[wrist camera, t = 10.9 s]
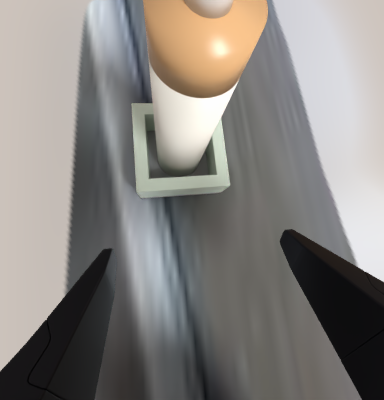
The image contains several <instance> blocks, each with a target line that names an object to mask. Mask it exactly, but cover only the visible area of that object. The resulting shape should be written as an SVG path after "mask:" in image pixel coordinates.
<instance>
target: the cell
mask: <svg viewBox="0 0 384 400" xmlns="http://www.w3.org/2000/svg"><path fill="white" fill-rule="evenodd" d="M143 3H144V14H145V25H146V36H147V47H148V58H149V69H150V80H151V90H152V101H153V112H154V123H155V134H156V145H157V156H158V162H159V165H160V167H161V168H162V170H163V171H164V172H165V173H167V174H168V175H170V176H173V177H185V176H188V175H190V174H191V173H193V172H194V171H195V169H196V168H197V166H198V164H199V162H200V160H201V158H202V155H203V153H204V151H205V149H206V147H207V145H208V143H209V141H210V139H211V137H212V135H213V133H214V131H215V128H216V126H217V124H218V122H219V120H220V118H221V116H222V114H223V112H224V110H225V108H226V106H227V104H228V102H229V99H230V97H231V95H232V93H233V91H234V89H235V87H236V85H237V83H238V81H239V79H240V77H241V75H242V72H243V70H244V68H245V66H246V64H247V62H248V60H249V58H250V56H251V54H252V52H253V50H254V48H255V46H256V43H257V41H258V39H259V37H260V35H261V33H262V31H263V29H264V27H265V24H266V21H267V16H268V7H267V1H266V0H143Z"/></svg>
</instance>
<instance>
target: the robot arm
mask: <svg viewBox="0 0 384 400" xmlns="http://www.w3.org/2000/svg"><path fill="white" fill-rule="evenodd" d="M280 244H281V247H282V249H283V252H284V254H285V256H286V259H287V261H288V263H289V266H290V268H291V270H292V272H293V274H294V276H295V278H296V279H297V281H298V283H299V285H300V287H301V289H302V290H303V292H304V294H305V296H306V298H307V299H308V301H309V303H310V305H311V307H312V309H313V310H314V312H315V314H316V316H317V318H318V320H319V321H320V323H321V325H322V327H323V329H324V331H325V332H326V334H327V336H328V338H329V340H330V341H331V343H332V345H333V347H334V349H335V351H336V352H337V354H338V356H339V358H340V359H341V362H342V364H343V365H344V367H345V369H346V371H347V373H348V375H349V376H350V378H351V380H352V382H353V384H354V386H355V387H356V389H357V391H358V393H359V395H360V396H361V398H362V400H384V282H382V281H381V280H379V279H377V278H375V277H373V276H372V275H370V274H369V273H367V272H364V271H363V270H361V269H360V268H358V267H356V266H355V265H353V264H351V263H350V262H348V261H346V260H344V259H343V258H341V257H339V256H338V255H336V254H334V253H332V252H331V251H329V250H327V249H326V248H324V247H322V246H320V245H319V244H317V243H315V242H314V241H312V240H310V239H308V238H307V237H305V236H303V235H302V234H300V233H298V232H296V231H295V230H293V229H288V230H284V232H283V234H282V237H281V239H280ZM116 267H117V260H116V256H115V253H114V250H113V249H112V248H109V249H104V250H102V252H101V253H100V254H99V255H98V257H97V258H96V259H95V260H94V261H93V263H92V264H91V265H90V266H89V268H88V269H87V270H86V271H85V272H84V274H83V275H82V276H81V277H80V279H79V280H78V281H77V282H76V283H75V285H74V286H73V287H72V288H71V290H70V291H69V292H68V293H67V294H66V296H65V297H64V298H63V299H62V301H61V302H60V303H59V304H58V306H57V307H56V308H55V309H54V310H53V312H52V313H51V314H50V315H49V316H48V318H47V320H45V321H44V322H43V324H42V325H41V326H40V327H39V329H38V330H37V331H36V332H35V334H34V335H33V336H32V337H31V338H30V339H29V340H28V342H27V343H26V344H25V345H24V346H23V347H22V348H21V349H20V351H19V352H18V353H17V354H16V355H15V356H14V357H13V358H12V359H11V360H10V362H9V363H8V364H7V365H6V366H5V367H4V368H3V369H2V370H1V371H0V400H94V398H95V393H96V387H97V382H98V377H99V372H100V367H101V362H102V356H103V351H104V346H105V341H106V336H107V331H108V325H109V320H110V315H111V310H112V305H113V299H114V293H115V280H116Z"/></svg>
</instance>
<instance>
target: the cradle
mask: <svg viewBox="0 0 384 400" xmlns="http://www.w3.org/2000/svg"><path fill="white" fill-rule="evenodd" d="M131 106H132V123H133V141H134V158H135V175H136V192H137V194H138V195H139V196H140V198H141V199H145V198H159V197H172V196H185V195H199V194H212V193H221V192H222V191H223V190H225V189H226V188H228V187H229V186H230V181H229V173H228V166H227V158H226V151H225V144H224V136H223V129H222V121H221V118H220V120H219V122H218V124H217V126H216V128H215V131H214V133H213V135H212V137H211V139H210V141H209V143H208V145H207V147H206V149H205V151H204V153H203V155H202V158H201V160H200V162H199V164H198V166H197V168H196V169H195V171H194V172H193V173H191V174H190V175H188V176H185V177H173V176H170V175H168V174H167V173H165V172H164V171H163V170H162V168H161V167H160V165H159V162H158V156H157V145H156V134H155V123H154V112H153V103H131Z"/></svg>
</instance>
